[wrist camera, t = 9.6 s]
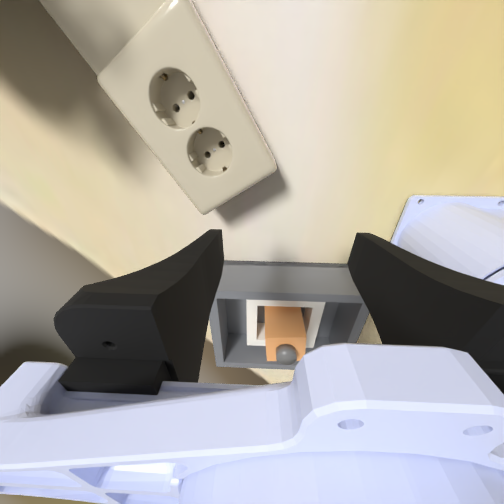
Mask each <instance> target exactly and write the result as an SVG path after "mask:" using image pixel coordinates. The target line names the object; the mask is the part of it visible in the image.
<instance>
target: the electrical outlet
mask: <svg viewBox="0 0 504 504" xmlns="http://www.w3.org/2000/svg"><path fill="white" fill-rule="evenodd" d="M39 1H40V3H41V4H42V5H43V7H44V8H45V9H46V10H47V12H48V13H49V14H50V16H51V17H52V18H53V19H54V21H55V22H56V23H57V25H58V26H59V27H60V28H61V30H62V31H63V32H64V34H65V35H66V36H67V37H68V39H69V40H70V41H71V43H72V44H73V45H74V46H75V48H76V49H77V50H78V52H79V53H80V54H81V55H82V57H83V58H84V59H85V61H86V62H87V63H88V64H89V66H90V67H91V68H92V70H93V71H94V72H95V73H96V75H97V81H98V83H99V85H100V86H101V87H102V89H103V90H104V91H105V92H106V94H107V95H108V96H109V98H110V99H111V100H112V101H113V103H114V104H115V105H116V106H117V108H118V109H119V110H120V112H121V113H122V114H123V115H124V117H125V118H126V119H127V120H128V122H129V123H130V124H131V125H132V127H133V128H134V129H135V131H136V132H137V133H138V134H139V136H140V137H141V138H142V139H143V141H144V142H145V143H146V145H147V146H148V147H149V148H150V150H151V151H152V152H153V153H154V155H155V156H156V157H157V159H158V160H159V161H160V162H161V164H162V165H163V166H164V167H165V169H166V170H167V171H168V173H169V174H170V175H171V176H172V178H173V179H174V180H175V181H176V183H177V184H178V185H179V186H180V188H181V189H182V190H183V192H184V193H185V194H186V195H187V197H188V198H189V199H190V200H191V202H192V203H193V204H194V206H195V207H196V208H197V209H198V211H199V212H200V213H201V214H203V215H205V214H208V213H209V212H211V211H212V210H214V209H216V208H217V207H219V206H221V205H222V204H224V203H225V202H227V201H229V200H230V199H232V198H233V197H235V196H237V195H238V194H240V193H242V192H243V191H245V190H246V189H248V188H250V187H251V186H253V185H255V184H256V183H258V182H259V181H261V180H263V179H264V178H266V177H268V176H269V175H271V174H272V173H274V172H275V171H276V170H277V166H276V162H275V159H274V156H273V154H272V153H271V151H270V149H269V147H268V145H267V143H266V141H265V139H264V137H263V135H262V134H261V132H260V130H259V128H258V126H257V124H256V122H255V120H254V118H253V116H252V114H251V113H250V111H249V109H248V107H247V105H246V103H245V101H244V99H243V97H242V95H241V94H240V92H239V90H238V88H237V86H236V84H235V82H234V80H233V78H232V76H231V74H230V73H229V71H228V69H227V67H226V65H225V63H224V61H223V59H222V57H221V55H220V54H219V52H218V50H217V48H216V46H215V44H214V42H213V40H212V38H211V36H210V34H209V33H208V31H207V29H206V27H205V25H204V23H203V21H202V19H201V17H200V15H199V14H198V12H197V10H196V8H195V6H194V4H193V2H192V0H39ZM194 96H195V97H194ZM222 141H223V142H224V143H225V145H224V144H223V143H222Z"/></svg>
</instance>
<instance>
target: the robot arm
mask: <svg viewBox="0 0 504 504" xmlns="http://www.w3.org/2000/svg"><path fill="white" fill-rule="evenodd" d="M420 199H421V201H420V202H419V203H418V201H419V200H420ZM223 265H224V253H223V240H222V230H216V229H210V230H209V231H207V232H206V233H204V234H203V235H202V236H201V237H199V238H198V239H196V240H195V241H194V242H192V243H191V244H190V245H188V246H187V247H185V248H183V249H182V250H180V251H179V252H177V253H176V254H174V255H172V256H170V257H168V258H166V259H164V260H162V261H160V262H158V263H156V264H154V265H151V266H149V267H146V268H144V269H142V270H139V271H136V272H133V273H130V274H127V275H124V276H121V277H117V278H114V279H110V280H106V281H102V282H98V283H94V284H89V285H85V286H83V287H82V288H81V289H80V290H79V291H78V292H77V293H76V294H75V295H74V296H73V297H72V298H71V299H70V300H69V301H68V302H67V303H66V304H65V305H64V306H63V307H62V308H61V309H60V310H59V311H57V312H56V314H55V317H54V325H55V329H56V331H57V332H58V334H59V336H60V337H61V338H62V340H63V341H64V342H65V344H66V345H67V346H68V347H69V349H70V350H71V351H72V353H73V354H74V355H75V357H76V358H75V359H74V361H73V362H72V363H71V365H70V366H69V367H68V366H66V365H64V364H60V363H50V362H25V363H23V364H22V365H21V366H20V367H19V368H18V369H17V370H16V371H15V372H14V374H13V375H11V377H10V378H9V379H8V380H7V381H6V382H5V383H4V384H3V385H2V386H1V387H0V494H13V495H26V496H38V497H48V498H59V499H67V500H77V501H85V502H93V503H102V504H504V197H493V196H437V195H413V196H411V197H410V198H408V200H407V202H406V205H405V207H404V210H403V212H402V215H401V217H400V220H399V222H398V224H397V227H396V229H395V232H394V234H393V237H392V239H391V242H388V241H386V240H384V239H382V238H380V237H378V236H375V235H373V234H370V233H357V234H356V237H355V240H354V244H353V247H352V250H351V254H350V257H349V260H348V264H347V265H348V268H349V271H350V274H351V277H352V280H353V282H354V284H355V286H356V288H357V290H358V291H359V293H360V295H361V297H362V299H363V301H364V303H365V305H366V307H367V308H368V310H369V312H370V314H371V316H372V318H373V321H374V323H375V325H376V328H377V331H378V333H379V336H380V338H381V341H382V344H359V343H338V344H330V345H322V346H320V347H318V348H316V349H314V350H312V351H310V352H307V353H306V354H305V355H304V356H303V357H302V358H301V360H300V361H299V363H298V364H297V365H296V367H295V371H294V376H293V380H292V381H290V382H282V383H275V384H268V385H238V384H216V383H198V379H199V371H200V365H201V360H202V353H203V348H204V342H205V337H206V331H207V326H208V321H209V316H210V312H211V308H212V305H213V302H214V299H215V295H216V292H217V289H218V286H219V283H220V280H221V276H222V271H223Z"/></svg>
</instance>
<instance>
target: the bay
mask: <svg viewBox="0 0 504 504" xmlns="http://www.w3.org/2000/svg"><path fill="white" fill-rule="evenodd" d="M265 306H282V307H301V312H302V317H303V322H304V327H305V332H306V337H307V338H306V350H305V354H306V353H307V352H310V351H312V350H314V349H316V348H318V347H320V346H322V345H330V344H338V343H356V342H357V340H358V338H359V335H360V333H361V331H362V329H363V326H364V324H365V322H366V319H367V317H368V315H369V310H368V308H367V307H366V305H365V303H364V301H363V299H362V297H361V295H360V293H359V291H358V290H357V288H356V286H355V284H354V282H353V280H352V277H351V274H350V271H349V268H348V265H347V264H333V263H296V262H260V261H224V265H223V271H222V276H221V280H220V283H219V286H218V289H217V292H216V295H215V299H214V302H213V305H212V308H211V312H210V316H209V320H210V326H211V333H212V340H213V346H214V352H215V360H216V366H219V367H243V368H266V369H290V370H295V367H296V365H297V364H298V363H299V361H296V362H295V363H293V364H290V365H283V364H280V363H278V362H277V361H267V356H266V344H265Z"/></svg>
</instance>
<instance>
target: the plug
mask: <svg viewBox="0 0 504 504" xmlns="http://www.w3.org/2000/svg"><path fill="white" fill-rule="evenodd" d="M306 338H307V337H306V332H305V327H304V322H303V317H302V312H301V307H282V306H265V344H266V356H267V361H277V362H278V363H280V364H283V365H290V364H293V363H295V362H296V361H300V360H301V358H302V357H303V356H304V355H305V350H306Z"/></svg>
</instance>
